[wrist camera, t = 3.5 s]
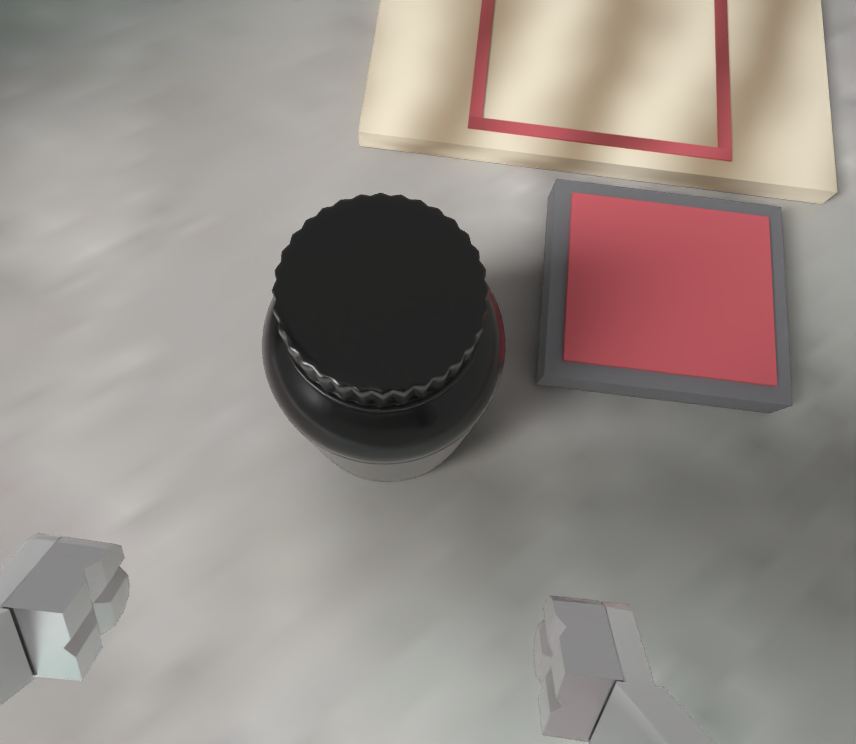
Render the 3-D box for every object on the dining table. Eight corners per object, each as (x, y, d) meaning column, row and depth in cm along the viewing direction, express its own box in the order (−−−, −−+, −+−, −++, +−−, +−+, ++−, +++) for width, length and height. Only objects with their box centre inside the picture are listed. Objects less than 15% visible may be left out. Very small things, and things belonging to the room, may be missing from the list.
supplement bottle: (272, 421, 24) (150, 315, 12) (371, 295, 25) (347, 96, 14) (409, 521, 23) (417, 507, 11) (503, 383, 25) (593, 251, 13)
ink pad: (536, 384, 25) (545, 374, 23) (548, 197, 27) (557, 176, 25) (769, 413, 25) (795, 404, 23) (761, 224, 27) (783, 204, 26)
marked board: (359, 145, 27) (358, 130, 26) (397, -79, 31) (397, -100, 30) (822, 204, 28) (838, 190, 27) (804, -26, 31) (818, -45, 30)
